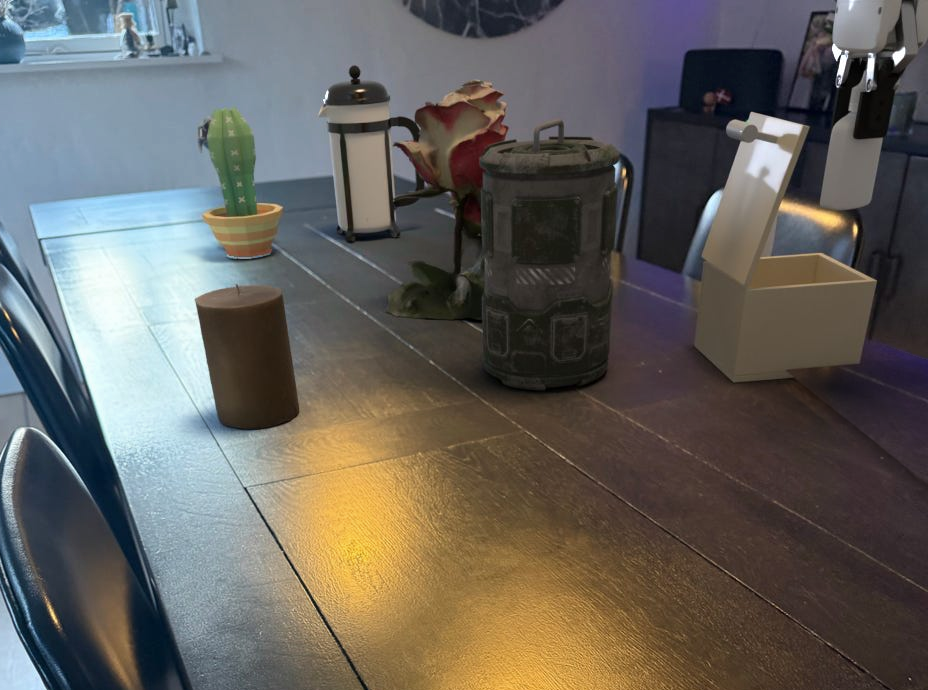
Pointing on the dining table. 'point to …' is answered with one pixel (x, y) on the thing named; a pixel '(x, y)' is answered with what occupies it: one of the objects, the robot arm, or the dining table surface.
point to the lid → (753, 193)
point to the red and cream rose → (457, 171)
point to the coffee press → (364, 156)
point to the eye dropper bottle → (850, 162)
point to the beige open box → (783, 317)
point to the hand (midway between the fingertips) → (857, 133)
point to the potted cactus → (237, 187)
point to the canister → (548, 258)
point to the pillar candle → (248, 355)
